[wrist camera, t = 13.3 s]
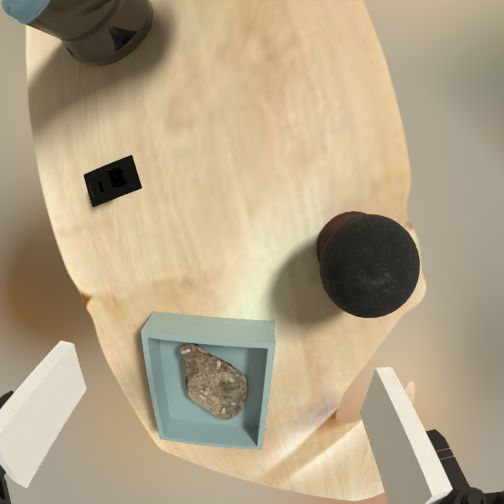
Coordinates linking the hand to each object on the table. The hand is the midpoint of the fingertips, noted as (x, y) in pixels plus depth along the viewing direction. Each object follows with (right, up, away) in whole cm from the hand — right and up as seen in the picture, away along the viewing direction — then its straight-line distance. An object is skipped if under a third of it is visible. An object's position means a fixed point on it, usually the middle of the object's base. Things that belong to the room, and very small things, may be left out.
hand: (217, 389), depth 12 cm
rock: (-5, -17, +41) cm, 44 cm away
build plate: (-20, +17, +33) cm, 42 cm away
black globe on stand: (+17, +6, +34) cm, 39 cm away
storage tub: (-6, -17, +42) cm, 45 cm away
